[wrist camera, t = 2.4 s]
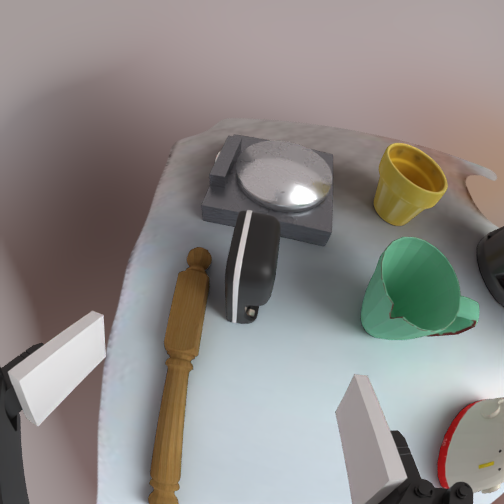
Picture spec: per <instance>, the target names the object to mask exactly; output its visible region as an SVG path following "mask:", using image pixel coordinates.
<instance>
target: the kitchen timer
mask: <svg viewBox="0 0 504 504" xmlns="http://www.w3.org/2000/svg"><path fill="white" fill-rule="evenodd" d="M437 464H438V478H439V481H440V484H441V486H442V487H443V488H446V489H449V488H450V487H451V486H452V485H453V484H455V483H457V482H465V483H467V484H469V485H470V486H471V488H472V490H473V493H475V492H479V491H482V493H491V492H494V491H496V490H498V489H499V488H500V484H501V483H503V482H504V397H503V398H496V399H485V400H481V401H477V402H474V403H471V404H469V405H467V406H466V407H465V408H464V409H463V410H461V411H460V412H459V414H458V415H457V416H456V417H455V419H454V420H453V421H452V423H451V425H450V427H449V429H448V430H447V432H446V434H445V437H444V439H443V442H442V445H441V448H440V452H439V458H438V463H437Z"/></svg>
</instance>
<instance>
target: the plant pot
mask: <svg viewBox="0 0 504 504" xmlns="http://www.w3.org/2000/svg"><path fill="white" fill-rule="evenodd" d="M379 173H380V178H379V182H378V186H377V190H376V194H375V198H374V207H375V210H376V212H377V213H378V214H379V216H380V217H381V218H382V219H383V220H385V221H386V222H388V223H390V224H392V225H395V226H402V225H405V224H406V223H408V222H409V221H410V220H411V219H413V218H414V217H415V216H417V215H418V214H419V213H420V212H422V211H423V210H424V209H428V208H431V207H433V206H435V205H436V203H437V202H438V201H439V200H440V199H441V197H442V196H443V195H444V193H445V192H446V190H447V179H446V177H445V175H444V173H443V171H442V170H441V168H440V167H439V166H438V164H437V163H436V162H435V161H434V160H433V159H432V158H430V157H429V156H428V155H427V154H425V153H424V152H422V151H421V150H419V149H417V148H415V147H413V146H411V145H408V144H404V143H394V144H391V145H389V146H388V147H387V149H386V151H385V153H384V155H383V157H382V159H381V162H380V164H379Z"/></svg>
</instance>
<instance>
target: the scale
mask: <svg viewBox="0 0 504 504" xmlns="http://www.w3.org/2000/svg"><path fill="white" fill-rule="evenodd" d="M209 176H210V187H209V189H208V191H207V193H206V196H205V198H204V200H203V202H202V205H201V206H202V215H203V220H204V221H209V222H214V223H218V224H223V225H228V226H233V227H235V225H236V221H237V217H238V214H239V212H240V211H247V210H251V211H253V212H256V213H262V214H268V215H272V216H274V217H276V218H277V219H278V221H279V222H280V226H281V232H280V237H285V238H289V239H294V240H298V241H303V242H307V243H312V244H316V245H321V246H325V245H326V243H327V241H328V239H329V237H330V235H331V233H332V208H333V154H329V153H325V152H321V151H317V150H312V149H309V148H307V147H304V146H302V145H299V144H296V143H293V142H288V141H279V140H272V141H270V140H265V139H259V138H254V137H248V136H241V135H235V134H234V136H228V138H227V140H226V142H225V144H224V146H223V148H222V150H221V151H219V152H218V154H217V156H216V160H215V164H214V166H213V168H212V170H211V172H210V174H209Z"/></svg>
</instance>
